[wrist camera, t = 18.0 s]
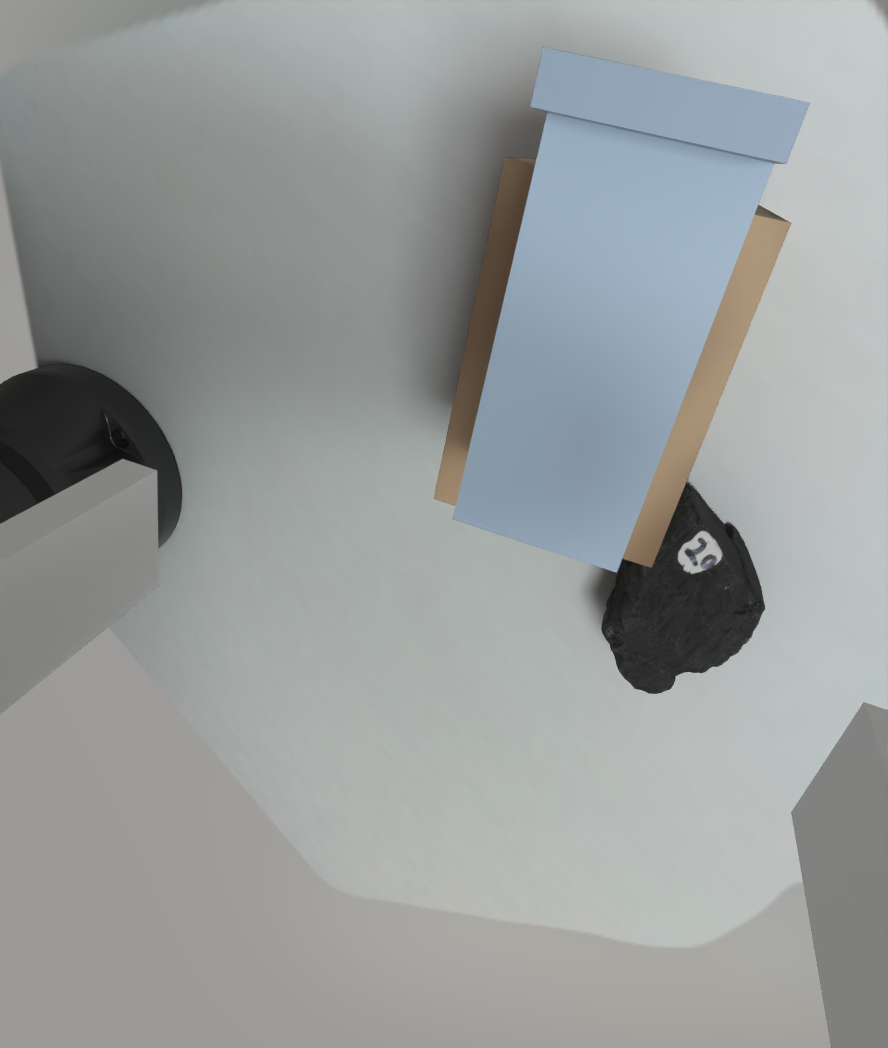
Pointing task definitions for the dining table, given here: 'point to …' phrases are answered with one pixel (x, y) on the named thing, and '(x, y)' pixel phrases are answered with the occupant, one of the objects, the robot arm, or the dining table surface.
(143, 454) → the robot arm
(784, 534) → the dining table surface
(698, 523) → the rock
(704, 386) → the open wooden crate
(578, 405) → the lidded box
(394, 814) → the dining table surface
